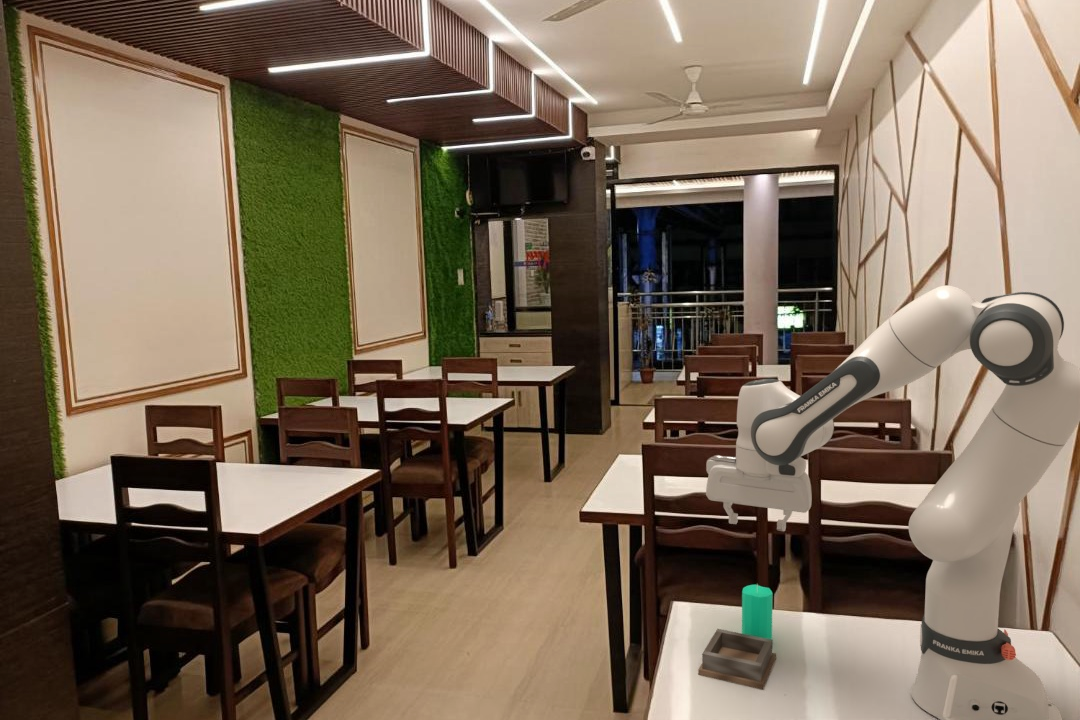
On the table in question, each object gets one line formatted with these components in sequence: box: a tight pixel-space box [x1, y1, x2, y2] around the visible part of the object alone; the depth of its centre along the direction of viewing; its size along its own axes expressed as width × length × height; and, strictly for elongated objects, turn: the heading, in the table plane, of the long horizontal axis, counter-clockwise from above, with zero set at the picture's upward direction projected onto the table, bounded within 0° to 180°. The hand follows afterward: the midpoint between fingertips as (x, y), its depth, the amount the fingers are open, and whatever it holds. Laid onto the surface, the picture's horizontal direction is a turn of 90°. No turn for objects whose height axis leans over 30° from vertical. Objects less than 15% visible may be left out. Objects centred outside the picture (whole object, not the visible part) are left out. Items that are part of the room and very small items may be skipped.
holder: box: [697, 628, 777, 690], centre depth 147 cm, size 12×12×4 cm
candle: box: [741, 583, 774, 640], centre depth 157 cm, size 6×6×12 cm
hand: (756, 526), depth 154 cm, fingers open, 8 cm apart
